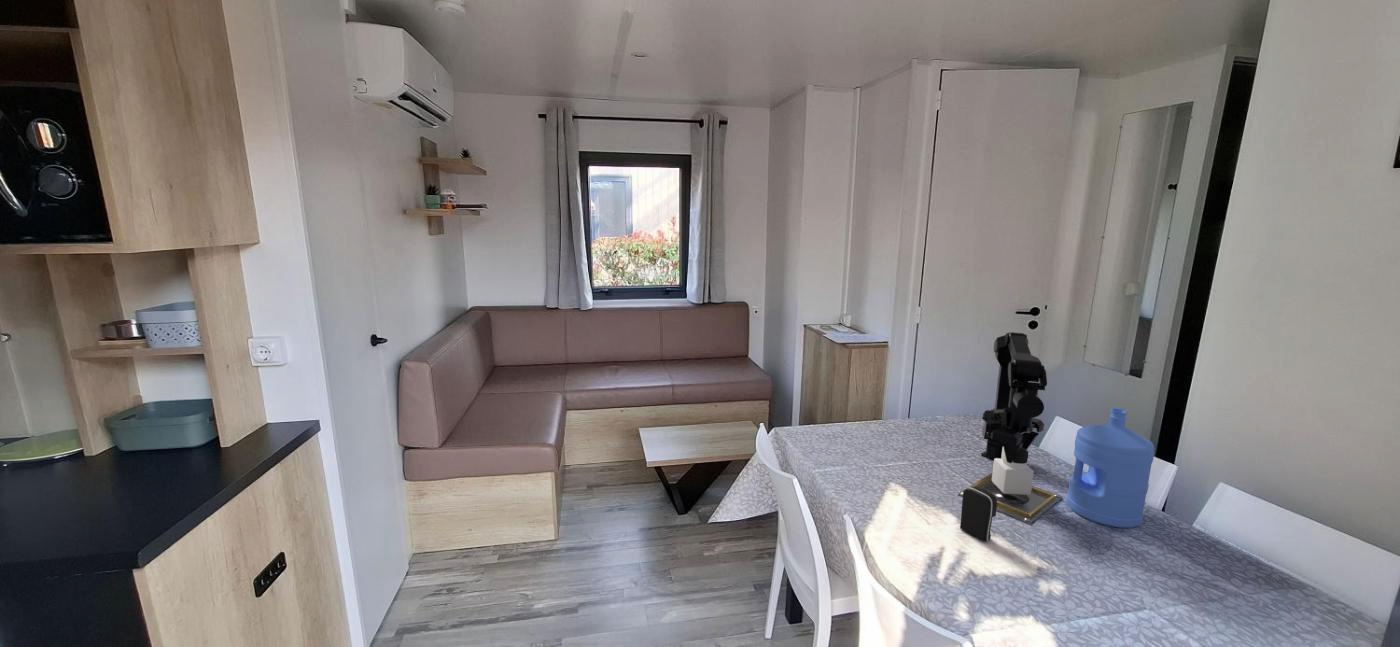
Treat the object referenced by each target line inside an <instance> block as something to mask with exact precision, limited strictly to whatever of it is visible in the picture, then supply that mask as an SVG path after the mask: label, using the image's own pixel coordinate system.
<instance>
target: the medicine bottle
mask: <svg viewBox="0 0 1400 647" xmlns="http://www.w3.org/2000/svg"><path fill="white" fill-rule="evenodd" d="M1028 459H1029V451H1028V449H1027V450H1026V449H1025V448H1023V447H1021V449H1020V450H1019V452H1018V454H1017V455H1016V457H1015V459H1014V460H1013V462H1012V463H1008V462H1007V460H1006V456H1005V451H1004V447H1003V449H1002V457H1001V459H999V458H995V459H993V466H992V482H993V483H994V484H995V485H996V486H997V487H998V488H999V489H1000V490H1001V491H1002V492H1003V493H1004V494H1020V495H1031V489H1032V486H1033V480H1034V473H1035V471H1034V469H1032V468H1031V467H1030V466H1028Z"/></svg>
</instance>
